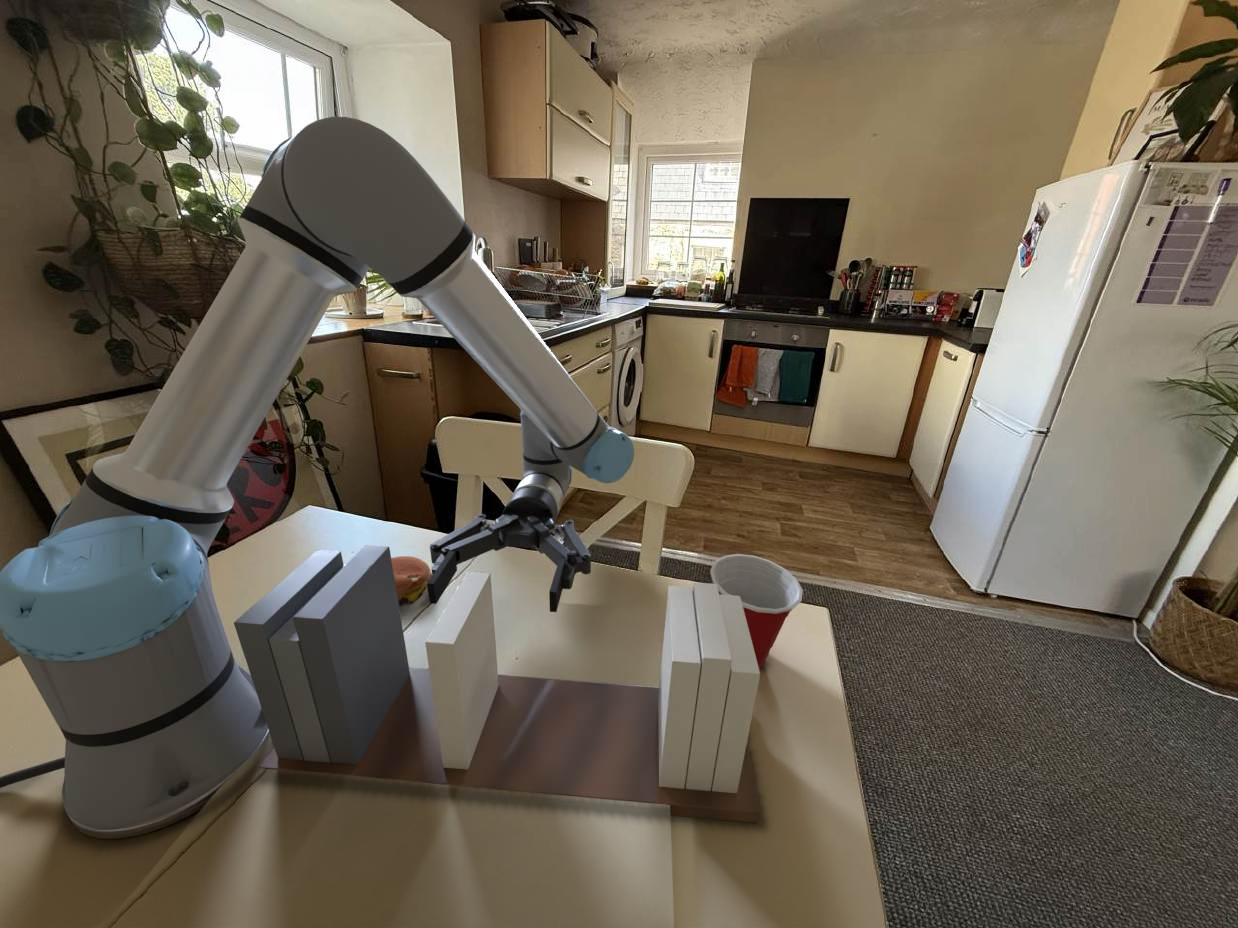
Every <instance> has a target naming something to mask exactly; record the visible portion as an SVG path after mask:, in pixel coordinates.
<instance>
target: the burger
mask: <svg viewBox="0 0 1238 928" xmlns="http://www.w3.org/2000/svg"><path fill="white" fill-rule="evenodd" d="M391 560H392V566H393V573H394V579H395V585H396V591H397V597H398V603H399V607H402V606H405V605H412V604H414V603H415V602H417V601H418V600H419V599H420V598H421V597H422V596H423V595H424V594H428V587H427V583H428V581H429V580H430V578H431V577H432V571H431V568H430V566H429V565H428V563H427V562H425V561H424V560H422V559H420V558H418V557H414V556H410V555H407V556H406V555H403V556H402V555H401V556H394V557H391Z"/></svg>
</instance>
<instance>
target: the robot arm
mask: <svg viewBox="0 0 1238 928" xmlns="http://www.w3.org/2000/svg"><path fill="white" fill-rule="evenodd" d="M262 172H263V173H262V174H261V179H260V181H259V183H258V184H257V186H256V187H255V189H254V191H253V193H252V195H251V196H250V198H249V200H248V201H247V204H246V205H245V207H244V208H243V210H242V212H241V214H240V215H239V216H238V219H237V224H238V225H239V228H240V231H241V234H242V235H243V238H244V240H245V247H244V249H243V251H242V253H240V256H239V258H238V259H237V260H236V263H235V264H234V266H233V267H232V270H231V271H230V273H229V275H228V276H227V278H226V280H225V282H224V283H223V285H222V286H221V288H220V290H219V291H218V293H217V295H216V297H215V298H214V300H213V302H212V304H211V305H210V307H209V309H208V310H207V312H206V314H205V315H204V317H203V319H202V321H201V322H200V324H199V326H198V327H197V329H196V331H195V332H194V334H193V336H192V338H191V339H190V341H189V343H188V345H187V346H186V348H185V349H184V351H183V352H182V355H181V356H180V358H179V360H178V361H177V363H176V364H175V366H174V369H173V370H172V372H171V373H170V375H169V377H168V378H167V380H166V382H165V384H164V385H163V386H162V389H161V391H160V392H159V394H158V396H157V397H156V399H155V401H154V402H153V404H152V406H151V407H150V410H149V411H148V413H147V414H146V416H145V418H144V419H143V421H142V423H141V424H140V426H139V428H138V430H137V431H136V433H135V435H134V437H133V438H132V440H131V442H130V444H129V445H128V447H127V449H126V450H125V451H124V452H122V453H118V454H113V455H110V456H106V457H103V458H100V459H98V460H96V462H94V464H93V465H92V467H91V469H90V471H89V472H88V474H87V476H86V477H85V479H84V480H83V483H82V484H81V486H80V487H79V489H78V491H77V492H76V495H75V496H73V497H72V498H71V499H70V501H69V502H68V503H67V504H65V505H64V506H62V508H61V509H60V511H59V512H58V513H57V515H56V518H55V519H54V521H53V523H52V525H51V529H50V532H49V536H47V537H45V538H43V539H41V540H39V542H38V546H36V547H31V548H25V549H24V550H22V551H21V552H19V553H18V554H17V555H15V556H14V557H13V558H12V559H11V560H10V561H9V562H8V563H7V564H6V565H5V566H4V567H3V568H2V569H1V570H0V630H1V631H2V636H3V637H4V639H5V640H6V641H7V642H8V643H9V644H10V646H12V647H13V648H14V650H15V652H16V653H17V655H18V657H19V658H20V660H21V662H22V665H23V666H24V668H25V670H26V671H27V672H28V675H29V677H30V678H31V680H32V682H33V683H34V685H35V687H36V690H37V691H38V692H39V694H40V696H41V698H42V700H43V701H44V703H45V705H46V707H47V708H48V710H49V712H50V714H51V716H52V717H53V719H54V721H55V723H56V724H57V726H58V727H59V729H60V732H61V733H62V735H63V737H64V739H65V748H64V756H63V757H60V758H56V759H53V760H50V761H46V762H43V763H39V764H37V765H34V766H31V767H26V768H24V769H20V770H17V771H14V772H10V773H8V774H5V775H2V776H0V789H1V788H4V787H7V786H11V785H13V784H16V783H19V782H23V781H25V780H29V779H32V778H36V777H39V776H42V775H45V774H48V773H51V772H55V771H59V770H62V769H64V777H63V783H62V787H61V798H62V802H63V808H64V811H65V813H66V814H67V817H68V818H69V820H70V821H71V823H72V824H73V826H74V827H75V829H77V830H78V831H79V832H80V833H82V834H85V835H86V836H89V837H92V838H97V839H106V840H113V839H126V838H132V837H136V836H141V835H144V834H148V833H151V832H155V831H157V830H159V829H163V828H166V827H168V826H170V825H172V824H175V823H178V822H179V821H181V820H184V819H185V818H188V817H189V816H191V815H193V814H196V813H197V812H199V811H200V810H202V809H203V808H204V807H205V806H206V805H207V803H208V802H209V801H210V800H211V798H212V797H213V796H214V795H215V794H216V793H217V791H218V790H219V789H220V787H221V786H222V785H223V784H224V783H225V782H226V781H227V780H228V779H230V778H231V777H232V776H234V775H235V774H236V773H237V772H238V771H239V770H240V769H241V768H242V767H243V766H244V765H245V764H246V763H247V762H248V761H249V760H250V759H251V758H252V757H253V755H254V754H256V752H257V751H258V750H259V748H260V746H261V745H262V744H263V743H264V741H265V739H266V737H267V736H268V734H269V733H270V732H269V729H268V726H267V723H266V720H265V717H264V714H263V711H262V708H261V705H260V702H259V699H258V696H257V693H256V690H255V687H254V683H253V680H252V677H251V674H250V672H248V671H247V670H246V669H245V668H244V667H243V666H242V665H241V664H239V663H238V662H237V661H236V660H235V658H234V654H233V652H232V649H231V645H230V643H229V640H228V636H227V632H226V630H225V628H224V624H223V621H222V618H221V616H220V612H219V610H218V605H217V603H216V599H215V594H214V591H213V585H212V579H211V572H210V565H209V558H208V552H209V550H210V547H211V545H212V543H213V541H214V540H215V538H216V536H217V535H218V533H219V531H220V530H221V528H222V526H223V524H224V523H225V520H226V518H227V517H228V515H229V513H230V512H231V510H232V508H233V506H234V504H235V499H234V498H233V495H232V494H231V492H230V490H229V488H228V482H229V481H230V478H231V477H232V475H233V473H234V472H235V470H236V469H237V467H238V465H239V463H240V461H241V460H242V458H243V456H244V455H245V453H246V451H247V449H248V447H249V445H250V444H251V442H252V440H253V439H254V437H255V435H256V434H257V432H258V430H259V428H260V427H261V425H262V423H263V421H264V420H265V418H266V416H267V414H268V413H269V411H270V410H271V408H272V406H273V404H274V402H275V401H276V399H277V397H278V395H279V393H281V391H282V388H283V387H284V385H285V383H286V381H287V379H288V378H289V376H290V375H291V373H292V371H293V369H294V368H295V366H296V364H297V362H298V361H299V359H300V357H301V355H302V354H303V352H304V350H305V348H306V347H307V345H308V343H309V342H310V339H311V338H312V336H313V335H314V333H315V331H316V329H317V327H318V325H319V324H320V322H321V320H322V318H323V317H324V315H325V314H326V311H328V309H329V306H330V305H331V303H332V301H333V300H334V298H336V297H338V296H340V295H346V294H347V295H348V294H352V293H356V292H357V290H358V288H359V287H360V285H361V283H362V282H363V280H364V278H365V276H366V275H367V273H368V271H369V270H370V269H371V270H372V271H374V272H375V273H376V274H377V275H379V276H380V277H381V278H382V279H383V280H384V281H385V282H387V284H388V285H389V286H390V287H391V288H392V290H394V291H395V292H396V293H397V294H398V295H399V296H400V297H402V298H411V299H416V300H418V301H419V302H420V304H421V305H422V306H423V307H424V308H425V309H426V310H427V311H428V312H429V313H430V314H431V315H432V316H433V317H434V318H435V320H437V322H439V324H440V325H441V326H442V327H443V328H444V329H445V330H446V331H447V332H448V334H449V335H451V336H452V337H453V338H454V340H455V341H456V342H457V343H458V344H459V345H460V346H461V347H462V348H463V350H464V351H465V352H466V353H467V354H468V355H469V356H470V357H471V358H472V359H473V360H474V361H475V362H476V364H478V365H479V366H480V368H481V369H482V370H483V371H484V372H485V373H486V374H487V375H488V376H489V377H490V379H492V381H493V382H494V383H496V385H497V386H498V387H499V388H500V389H501V390H502V391H503V392H504V393H505V394H506V395H507V396H508V397H509V398H510V400H511V401H512V402H513V403H514V404H515V405H516V406H517V407H518V409H520V413H519V417H520V427H521V429H520V430H521V445H522V471H523V474H522V477H521V480H520V482H519V483H518V485H517V487H516V488H515V490H514V492H512V495H511V496H510V499H509V500H508V502H507V504H505V507H504V508H503V512H502V514H501V516H500V517H497V518H496V519H495V520H493V519H487V518H486V517H487V516H486V514H485V513H479V514H477V515H476V516H475V517H473V519H472V521H470V522H468V523H466V524H464V525H462V526H461V527H459V528H457V529H455V530H453V531H452V532H450V533H447V534H446V535H445V536H443V537H441V538H439V539H437V540H436V541H434V542H432V543H430V544H429V553H430V559H431V560H430V561H431V564H433V565H432V566H431V574H432V577H431V578H430V580H429V581H428V583H427V587H428V593H427V595H428V600H429V601H428V602H429V604H430V605H431V604H433V605H436V604H438V602H439V600H440V599H441V598H442V595H443V594H444V592H445V591H446V589H447V587H448V585H449V584H450V582H451V581H452V579H453V578H454V576H455V575H456V573H457V571H458V565H461V564H463V563H464V562H468V561H469V560H472V559H474V558H477V557H478V556H481V555H483V554H485V553H488V552H490V551H492V550H494V551H495V552H498V551H500V550H502V549H504V548H507V547H508V548H518V547H519V548H524V549H531V548H534V549H535V550H536V551H537V552H539V554H540V555H542V554H544V555H545V556H546V557H547V558H548V559H549V560H550V561H551V562H552V563H553V564H554V565H556V569H555V571H554V575H553V578H552V582H551V585H550V588H549V591H548V593H549V594H548V596H549V612H550V613H557V612H558V608H559V604H560V600H561V597H562V592H563V590H571V588H573V584H574V580H575V576H576V575H577V574H578V573H581V574H582V575H589V574H591V572H592V553H591V552H590V551H589V549H588V548H587V546H586V545H585V543H584V541H583V540H582V539H581V537H580V535H579V534H578V532H577V530H575V522H574V520H573V519H566V520H564V524H556V522H557V519H558V516H559V513H560V511H561V508H562V505H563V502H564V499H565V497H566V494H567V492H568V490H569V488H570V485H571V484H572V476H573V469H574V470H577V471H578V472H580V473H582V474H583V475H585V476H586V477H587V478H589V479H593V480H596V481H598V482H600V483H602V484H612V483H616V482H618V481H619V480H622V478H624V476H625V475H626V474H627V472H628V471H629V470H630V469H631V467H632V464H633V462H634V457H635V446H634V442H633V441H632V439H631V437H630V436H628V435H627V434H626V433H624V432H622V431H621V430H620V429H618V428H616V427H612V426H610V425H609V424H608V423H607V422H606V420H605V419H604V418H603V416H602V415H601V414H600V413H599V412H598V410H597V409H596V408H595V407H594V406H593V404H592V403H591V401H589V399H588V397H586V395H585V393H584V392H583V391H582V390H581V389H580V387H579V386H578V385H577V383H576V382H575V381H574V379H573V378H572V376H570V374H569V373H568V372H567V370H566V369H565V368H564V366H563V365H562V364H561V362H560V361H559V360H558V358H557V357H556V356H555V355H554V353H553V352H552V351H551V349H550V348H549V346H548V345H547V344H546V342H545V341H544V340H543V338H542V337H541V336H540V335H539V333H538V332H537V331H536V330H535V328H534V327H533V326H532V324H531V323H530V322H529V321H528V319H527V317H526V316H525V315H524V314H523V313H522V311H521V310H520V309H519V307H518V306H517V305H516V303H515V302H514V300H512V298H511V297H510V296H509V294H508V293H507V292H506V290H505V289H504V288H503V287H502V285H501V284H500V282H499V281H498V279H496V277H495V275H493V273H492V272H491V271H490V269H489V268H488V267H487V265H486V264H485V263H484V261H483V260H482V259H481V257H480V256H479V255H478V254H477V253H476V251H475V243H476V235H475V232H474V231H473V230H472V229H471V227H470V226H469V225H468V223H467V222H466V221H465V220H464V218H463V216H461V214H460V212H459V211H458V210H457V208H456V207H455V206H454V205H453V203H452V202H451V201H450V199H449V198H448V197H447V196H446V194H445V193H444V192H443V191H442V189H441V188H440V186H439V185H438V184H437V183H436V181H435V180H434V179H433V177H432V176H431V175H430V174H429V173H428V172H427V170H425V168H424V167H423V166H422V165H421V164H420V162H418V160H417V159H416V158H415V157H414V155H412V154H411V153H410V152H409V151H408V150H407V149H406V148H405V146H403V145H402V144H401V143H399V141H397V140H396V139H395V138H393V137H392V135H390V134H388V133H387V132H385V131H384V130H383V129H381V128H379V127H377V126H375V125H373V124H371V123H369V122H366V121H363V120H361V119H358V118H353V117H349V116H329V117H324V118H319V119H316V120H314V121H312V122H310V123H308V124H307V125H305V126H304V127H303V128H301V129H300V130H299V131H298V132H297V133H296V134H295V135H294V136H293V135H292V136H291V137H289V138H287V139H285V140H284V141H282V142H281V143H279V144H278V145H277V146H275V148H274V149H273V150H272V151H271V152H270V154H269V156H268V157H267V159H266V160H265V162H264V166H263V170H262ZM555 535H557V536H558V538H560V540H561V542H564V544H563V543H561V542H560V541H559V540H558V539H557V538H556V537H555Z"/></svg>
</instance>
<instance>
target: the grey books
mask: <svg viewBox="0 0 1238 928" xmlns="http://www.w3.org/2000/svg"><path fill="white" fill-rule="evenodd" d="M391 558H392V554H391V548H390V546H386V545H385V546H383V545H371V544H366V545H364V546H363V547H362V548H360V550H359V551H358V552H357V553H355V555H354V556H353V557H352V558H350V560H349V561H348V562H346V563H344V560H343V555H342V551H339V550H323V549H317V550H316V551H314V552H313V553H312V554H311V555H310V556H308V557H307V558H306V559H305V560H304V561H303V562H302V563H300V564H299V565H298V566H297V567H296V568H295V569H293V570H292V571H291V572H290V573H289V574H288V575H287V576H286V577H284V578H283V579H282V580H281V581H280V582H278V583H277V584H276V585H275V586H274V587H272V588H271V589H270V590H269V592H266V594H264V596H262V597H261V598H260V599H259V600H258V601H256V602H255V603H254V604H253V605H252V606H251V607H250V608H248V609H247V610H246V611H245V612H244V613H243V614H241V616H239V617H238V618H237V619H236V620H235V621H233V625H234V628H235V630H236V634H237V638H238V640H239V644H240V647H241V650H242V652H243V656H244V659H245V662H246V665H247V668H248V671H249V674H250V675H251V677H252V680H253V683H254V687H255V690H256V693H257V696H258V699H259V702H260V705H261V708H262V711H263V714H264V717H265V720H266V723H267V726H268V729H269V732H268V733H269V735H270V739H271V741H272V745H273V748H275V751H276V754H277V757H278V758H283V759H294V760H306V761H317V762H328V763H330V762H332V763H341V764H352V765H357V764H358V763H359V761H360V759H361V757H362V756H363V754H364V752H365V751H366V749H367V747H368V745H369V744H370V742H371V740H372V739H373V737H374V735H375V733H376V732H377V730H378V728H379V727H380V725H381V723H382V721H383V720H384V718H385V716H386V715H387V713H388V711H389V710H390V708H391V706H392V704H393V703H394V701H395V699H396V698H397V696H398V694H399V692H400V691H401V689H402V687H403V686H404V684H405V682H406V680H407V679H408V677H409V675H410V671H409V668H410V665H409V659H408V653H407V652H408V651H407V647H406V641H405V634H404V629H403V622H402V616H401V610H400V606H399V603H398V597H397V591H396V585H395V579H394V573H393V566H392V560H391Z"/></svg>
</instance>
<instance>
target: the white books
mask: <svg viewBox="0 0 1238 928" xmlns="http://www.w3.org/2000/svg"><path fill="white" fill-rule="evenodd" d="M662 642H663V643H662V654H661V663H660V664H661V665H660V673H659V674H660V675H659V686H658V687H659V695H658V722H659V787H669V788H680V789H684V787H685V788H686V789H693V790H704V791H711V788H712V791H715V792H727V793H737V790H738V785H739V780H740V775H741V770H742V765H743V760H744V755H745V749H746V744H747V745H748V740H749V734H750V727H751V723H752V718H753V713H754V708H755V704H756V698H757V693H758V688H759V683H760V678H761V672H760V671H761V670H760V668H759V667H758V663H757V659H756V656H755V652H754V648H753V644H752V640H751V636H750V632H749V629H748V625H747V621H746V617H745V613H744V609H743V605H742V601H741V598H740V596H733V595H719V591H718V586H717V584H713V583H707V582H693V586H692V587H691V586H677V585H676V586H675V585H668V588H667V599H666V610H665V620H664V633H663V641H662Z"/></svg>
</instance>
